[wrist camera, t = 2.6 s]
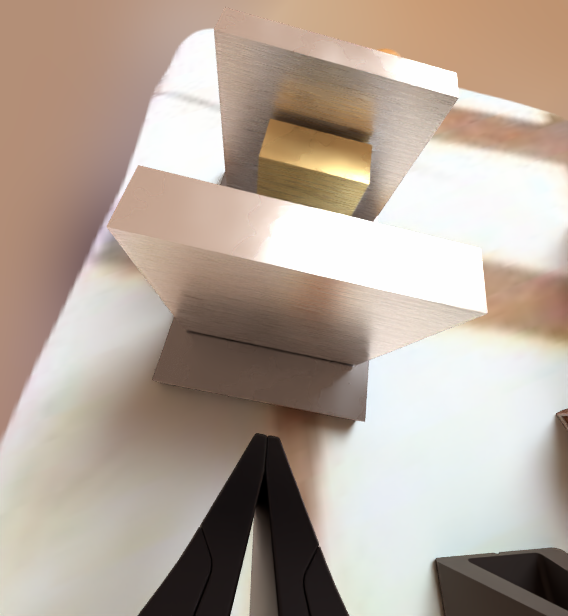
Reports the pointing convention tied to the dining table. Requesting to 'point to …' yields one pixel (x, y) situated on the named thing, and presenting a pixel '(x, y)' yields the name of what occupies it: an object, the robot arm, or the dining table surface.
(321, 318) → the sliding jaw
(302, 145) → the brass block
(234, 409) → the dining table surface
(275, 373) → the vise base
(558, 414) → the brown cake slice
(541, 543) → the dining table surface
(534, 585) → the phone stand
